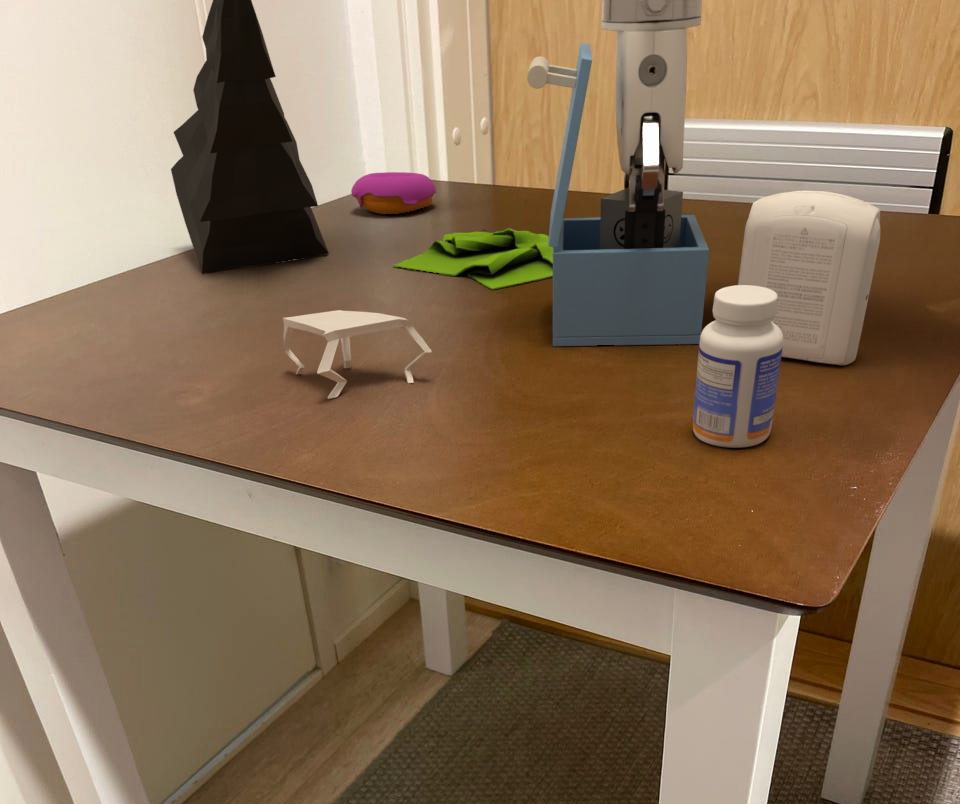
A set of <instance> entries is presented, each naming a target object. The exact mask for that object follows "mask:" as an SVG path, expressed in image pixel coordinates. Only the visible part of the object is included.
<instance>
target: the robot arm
mask: <svg viewBox="0 0 960 804" xmlns="http://www.w3.org/2000/svg"><path fill="white" fill-rule="evenodd" d="M702 11H703V0H601V30H603V31H610V32H616V58H615V59H616V60H615V62H616V63H615V130H616V143H617V145H616V146H617V153H618V161H619V165H620V170H621V171H622V172H623V173H624V177H623V190H624V189H626V188H629V211H625V230H624V249H644V248H663V243H664V226H665V209H663V208H664V190H665V175H666V174H665V173H666V170H665V169H666V167H665V165H667V168H668V169H671V170H672V172H673V174H679V172H680V171H681V170H682V169H683V167H684V146H685V145H684V144H685V143H684V141H685V124H686V123H685V121H686V100H687V79H688V29H689V28H694V27H699V26H701V25H702V24H701V23H702ZM665 162H666V163H665ZM636 193H637V194H636Z"/></svg>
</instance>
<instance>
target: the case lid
mask: <svg viewBox="0 0 960 804" xmlns="http://www.w3.org/2000/svg"><path fill="white" fill-rule="evenodd" d="M591 50H592V49H591V44H590V43H586V42H580V44H579V50H578V54H577V61H576V65H575V68H571V67H567V66H558V65H554V64H550V62H549V60H548V59H547V58H546V57H545V56H542V55H540V56H535V57H534V58H533V59H532V60H531V62H530V64H529V68H528V70H527V73H526V79H527V83H528V85H529V86H530V87H531V88H533V89H537V90H539V89H542V88H543V87H545V85H546V84H547V85H554V86H559V87H563V88H570V89H571V94H570V100H569V107H568V113H567V118H566V122H565V123H566V124H565V129H564V134H563V141H562V146H561V152H560V158H559V164H558V169H557V174H556V179H555V186H554V191H553V196H552V197H553V198H552V203H551V209H550V215H549V217H550V218H549V230H548V236H549V241H548V246H549V247H555V248H557V247H558V243H559V238H560V233H561V227H562V222H563V218H564V216H565V211H566V206H567V205H566V204H567V200H568V194H569V188H570V183H571V179H572V173H573V167H574V161H575V155H576V152H577V151H576V150H577V145H578V140H579V135H580V129H581V123H582V117H583V113H584V107H585V100H586V96H587V91H588V85H589V80H590V74H591V69H592V63H593V58H592V51H591Z"/></svg>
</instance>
